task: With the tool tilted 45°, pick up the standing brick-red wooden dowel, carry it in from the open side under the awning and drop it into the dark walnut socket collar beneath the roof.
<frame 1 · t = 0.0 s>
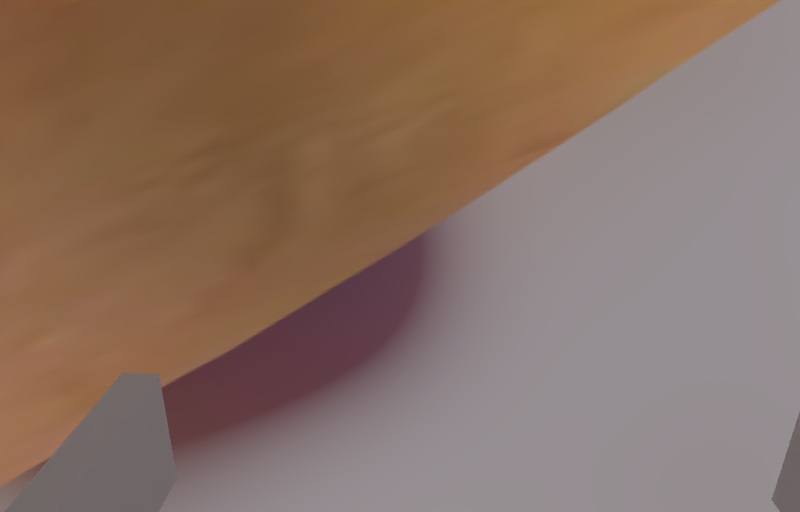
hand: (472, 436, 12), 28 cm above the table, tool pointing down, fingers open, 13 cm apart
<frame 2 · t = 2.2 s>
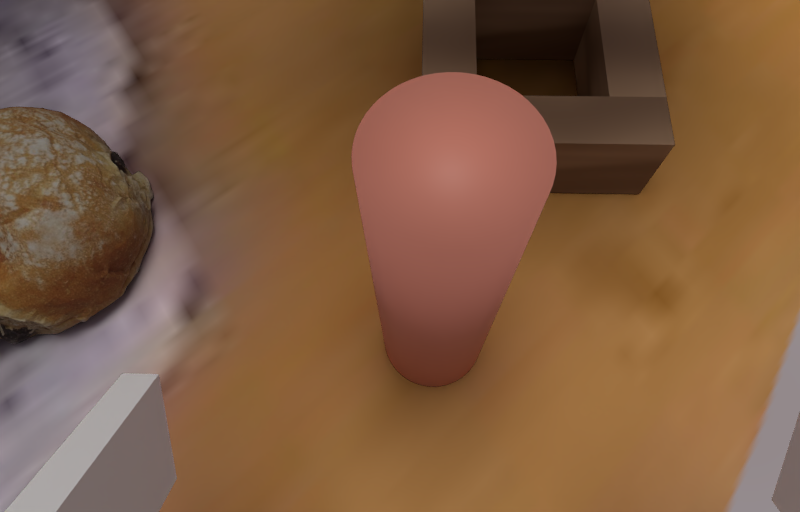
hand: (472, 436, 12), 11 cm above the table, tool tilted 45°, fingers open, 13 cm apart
bread roll: (51, 248, 27), on the table
peg: (432, 338, 24), on the table
awning socket: (523, 102, 29), on the table
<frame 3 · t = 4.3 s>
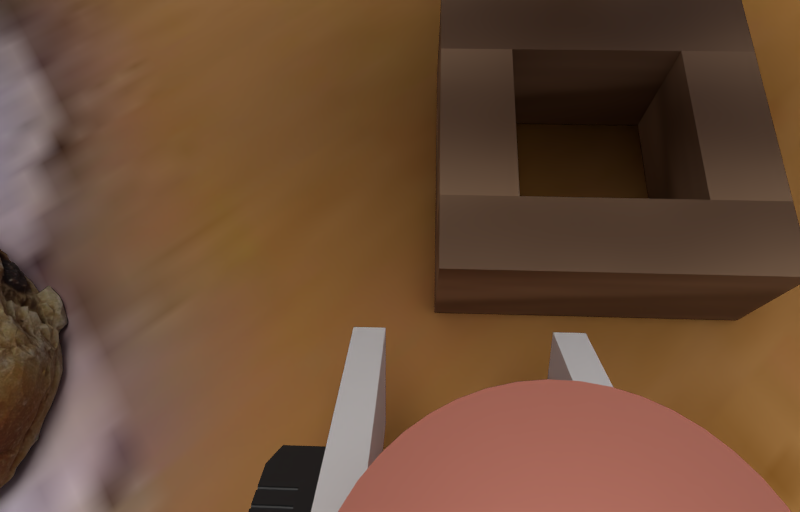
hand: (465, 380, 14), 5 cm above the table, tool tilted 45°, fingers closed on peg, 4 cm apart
awning socket: (572, 185, 22), on the table
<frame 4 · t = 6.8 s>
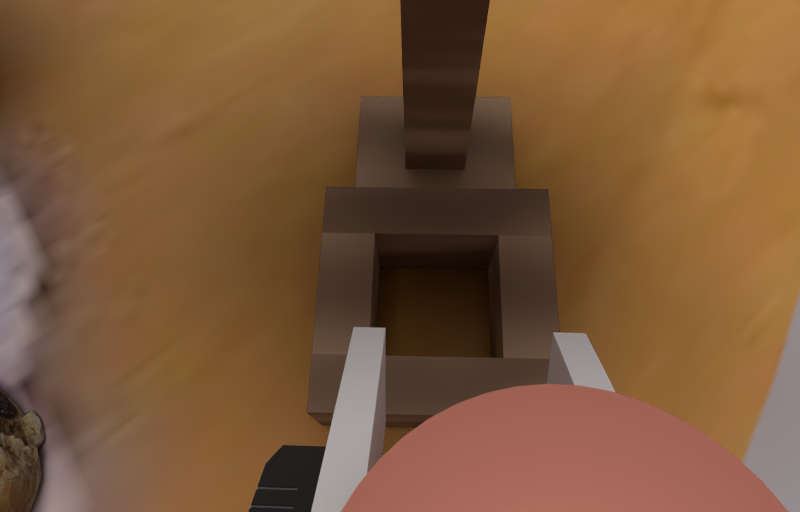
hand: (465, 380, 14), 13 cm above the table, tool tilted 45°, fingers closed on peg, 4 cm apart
awning socket: (433, 320, 28), on the table
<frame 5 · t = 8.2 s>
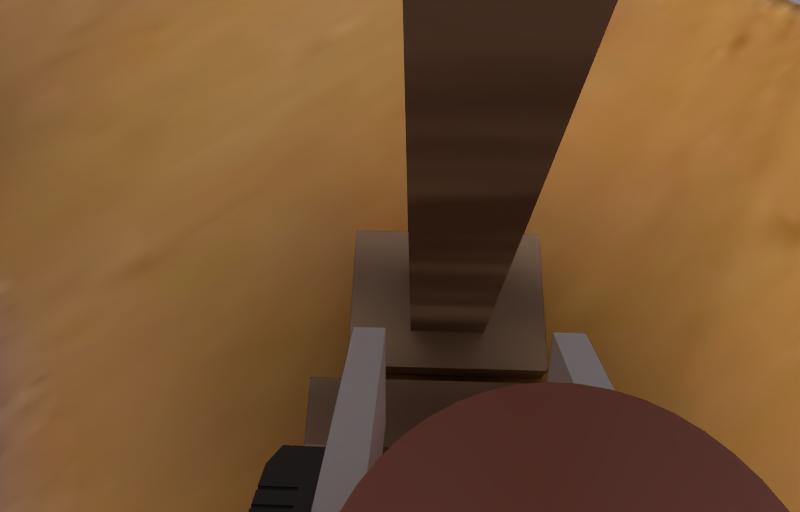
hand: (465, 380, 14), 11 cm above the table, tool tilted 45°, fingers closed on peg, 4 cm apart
when the fingers open (6 cm above the table, at t = 9.4 s): peg drops 2 cm, resting in awning socket.
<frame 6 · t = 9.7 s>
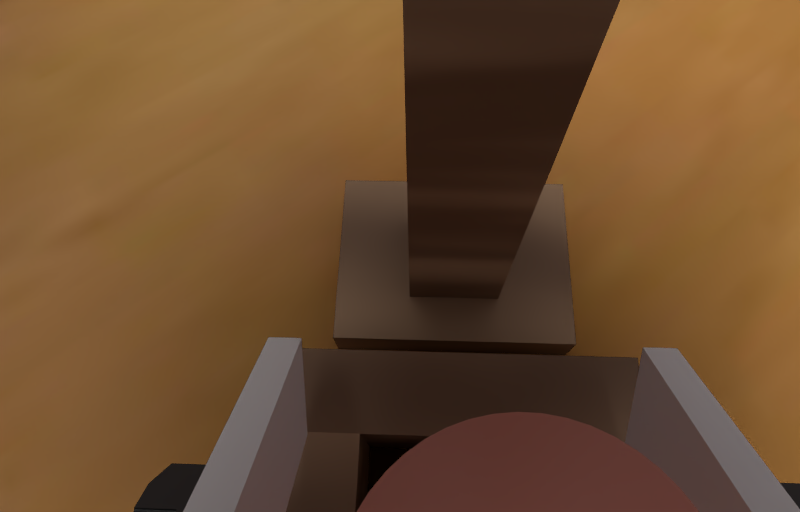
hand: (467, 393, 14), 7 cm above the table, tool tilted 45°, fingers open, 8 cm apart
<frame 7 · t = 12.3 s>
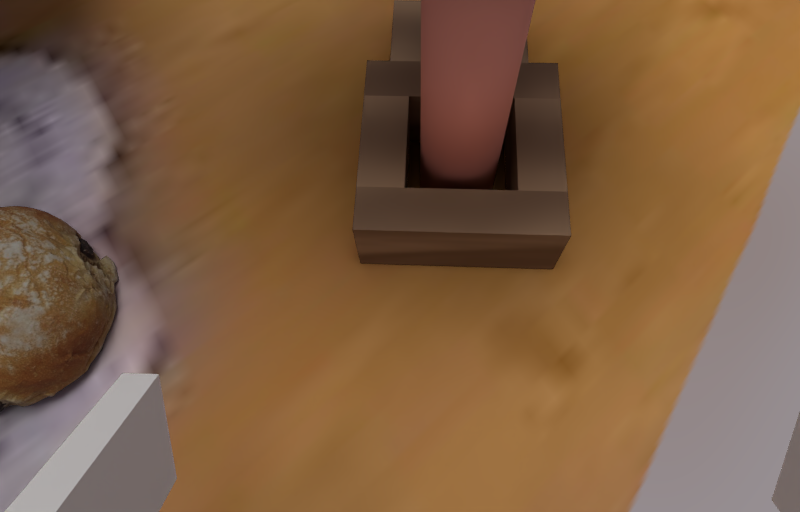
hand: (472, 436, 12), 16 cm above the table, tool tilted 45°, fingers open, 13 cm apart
bread roll: (27, 325, 30), on the table
peg: (456, 183, 33), resting in awning socket
awning socket: (456, 183, 33), on the table
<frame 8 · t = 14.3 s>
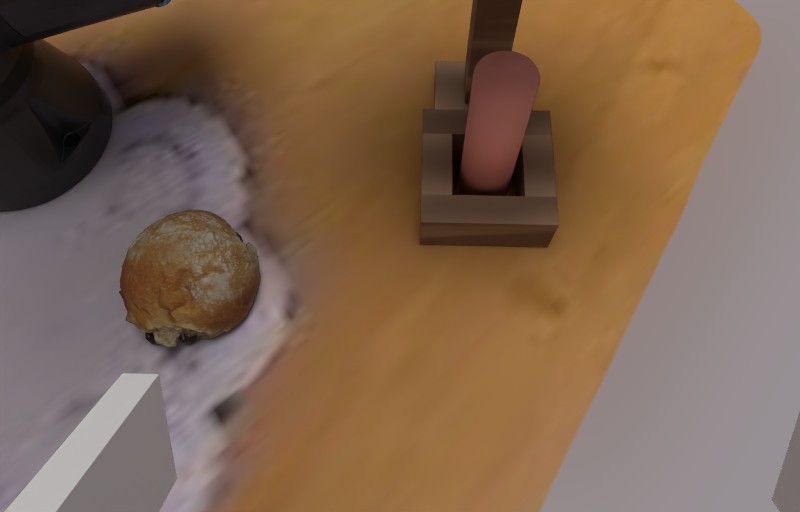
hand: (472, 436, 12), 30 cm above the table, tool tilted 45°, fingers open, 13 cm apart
bread roll: (199, 288, 46), on the table
peg: (481, 190, 48), resting in awning socket
awning socket: (482, 190, 48), on the table
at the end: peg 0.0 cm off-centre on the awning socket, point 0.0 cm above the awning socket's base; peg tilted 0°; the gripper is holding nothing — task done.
